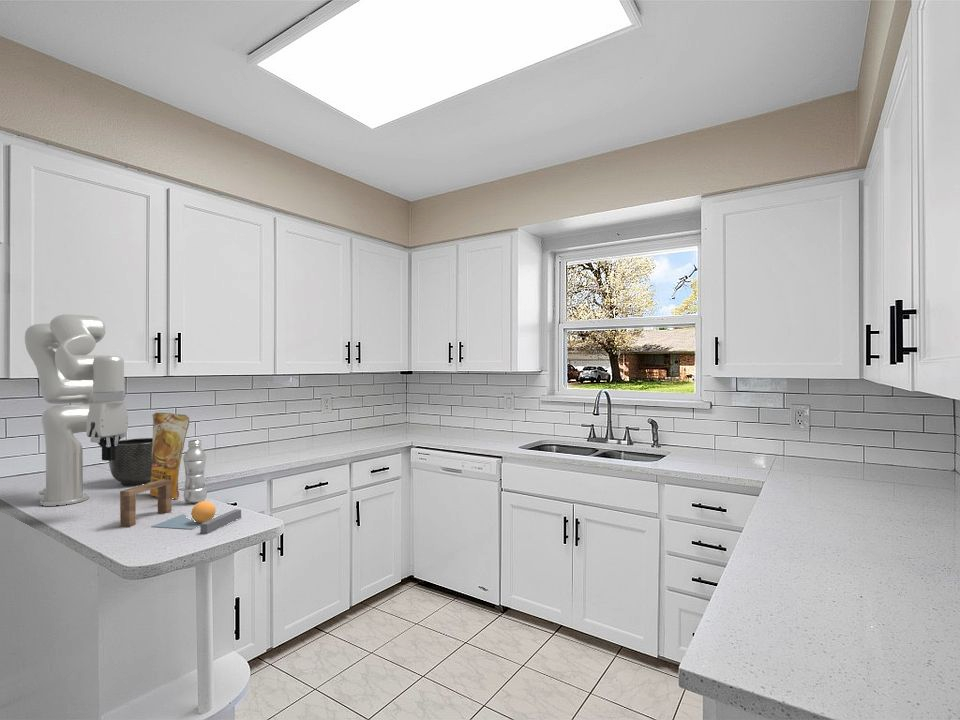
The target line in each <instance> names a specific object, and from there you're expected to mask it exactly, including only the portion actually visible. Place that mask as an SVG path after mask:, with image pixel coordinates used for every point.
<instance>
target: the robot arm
mask: <svg viewBox="0 0 960 720" xmlns="http://www.w3.org/2000/svg"><path fill="white" fill-rule="evenodd" d="M105 335H106V326H105V323H104V321H103V320H102V319H101V318H99V317H98V316H95V315H85V314H84V315H83V314H82V315H80V314H61V315H57V316H55V317H53V318H52V319H51V321H50V322H49V323H36V324H33V325H30V326H29V327H27V328H26V330H25V333H24V344H25V348H26V351H27V353H28V355H29V357H30V359H31V360H32V362H33V363H34V366H35V369H36V371H37V376H38V380H39V381H38V382H39V385H40V390H41V394H42V397H43V398H42V399H43V400H44V401H45V402H46V403H48V404H51V405H52V406H50V407H48V408H46V409H45V410H44V411H43V412H42V414H41V424H42V428H43V433H44V435H43V436H44V440H45V441H44V443H45V487H44V488H43V489H42V490H39V492H38V495H39V496H40V495H41V496H42V495H43V499H41V500H39V505H40V506H42V505H43V506H42V507H56V505H59V506H65V505H66V504H67V505H72V504H77V503H81V502H84V501H86V500H88V499H89V498H90V495H89V494H88V493H84V467H83V463H84V460H83V458H84V456H83V454H84V452H83V451H84V450H83V445H82V443H81V441H80V440H79V439H78V438H76V437H75V435H74V434H78V433H79V434H80V433H86V436H87V437H88V438H90V440H89V441H90V442H91V443H96V444H98V446H99V447H100V448H101V461H104V462H105V461H108V462H109V461H111V460H115V459H116V446H117V445H118V442H119V440H123V439H124V438H126V437H127V435H126V434H127V432H128V427H129V419H128V417H129V416H128V409H127V404H126V401H125V397H126V393H125V387H124V386H125V360H124V358H123V357H121V356H117V355H107V354H106V355H103V354H102V355H99V354H97V355H96V354H90V353H92V352H93V350H94V349H95V347H96V344H97V343H99V342H101V341H102V340H103V339H104V337H105ZM54 349H55V350H54Z"/></svg>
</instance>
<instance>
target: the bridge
mask: <svg viewBox="0 0 960 720" xmlns="http://www.w3.org/2000/svg"><path fill="white" fill-rule="evenodd" d="M155 488H158V498H157V514H165V513H167V514H169V513H172V512H171V511H172V510H173V509H172V506H173V505H172V500H173V499H172V496H171V480H167V479H162V480H159V481H155V482H152V483H151V482H150V483H148V484H144V485H139V486H133V487H131V488H128V489H123V490H120V491H119V497H120V498H119V502H120V503H119V506H120V507H119V509H120V510H119V511H120V512H119V514H120V517H119V518H120V520H119V521H120V524H119V525H120V527H122V528H123V527H124V528H131V527H134V526H136V523H137V521H136V519H137V515H136V514H137V513H136V511H137V509H136V507H137V505H136V504H137V503H136V495H138V494H141V493H144V492H149V491H150V490H152V489H155Z"/></svg>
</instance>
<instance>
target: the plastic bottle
mask: <svg viewBox="0 0 960 720" xmlns="http://www.w3.org/2000/svg"><path fill="white" fill-rule="evenodd" d="M187 447H188V449H187V450H186V452H185V453H184V454H183V458H182V459H183V464H184V471H185V483H184V484H185V485H184V491H183V499H184V500H183V501H184V502H185V503H186V504H197V502H198V503H199V502H201V501H206V498H207V494H208V491H207V486H206V481H205V467H206V461H207V460H206V458H207V454H206V453H205V451H204V449H202V440H201V439H192V440H188V444H187Z"/></svg>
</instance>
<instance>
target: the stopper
mask: <svg viewBox="0 0 960 720" xmlns="http://www.w3.org/2000/svg"><path fill="white" fill-rule="evenodd" d="M219 515H220V516H218V517H216V518H213V519H211V520H209V521H206V522H204V523H201V524H200V527H199V528H200V530H199V531H200V534H204V535H207V534H210V533H212V532H214V531H217V530H219V529H221V528H223V527H225V526H228V525H229V524H228V523H230V522H232V521H234V520H236V519H239V518H241V519H242V509H233V510H230V511H228V512H225V513H223V514H219ZM239 520H240V519H239ZM236 521H237V520H236ZM234 522H235V521H234ZM232 523H233V522H232ZM227 524H228V525H227ZM230 524H231V523H230ZM224 525H225V526H224ZM220 527H221V528H220ZM218 528H219V529H218ZM216 529H217V530H216Z"/></svg>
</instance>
